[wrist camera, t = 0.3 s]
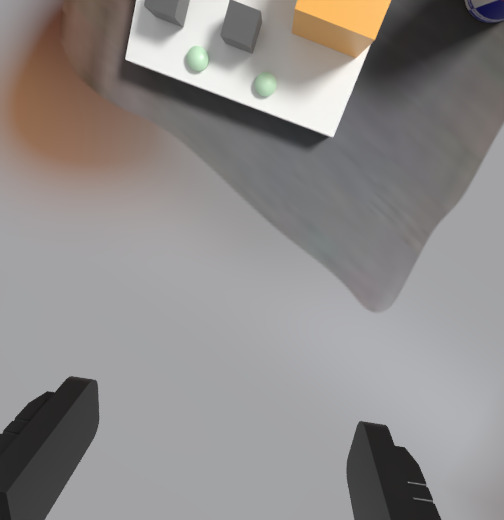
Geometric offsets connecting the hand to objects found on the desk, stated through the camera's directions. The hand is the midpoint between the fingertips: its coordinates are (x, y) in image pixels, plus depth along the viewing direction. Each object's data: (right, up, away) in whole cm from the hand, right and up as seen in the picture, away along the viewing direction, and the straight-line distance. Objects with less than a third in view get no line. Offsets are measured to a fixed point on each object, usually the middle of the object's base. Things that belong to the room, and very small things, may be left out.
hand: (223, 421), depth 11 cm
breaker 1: (-5, +25, +17) cm, 31 cm away
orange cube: (+8, +25, +17) cm, 31 cm away
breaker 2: (0, +23, +18) cm, 29 cm away
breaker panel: (+2, +26, +20) cm, 32 cm away
